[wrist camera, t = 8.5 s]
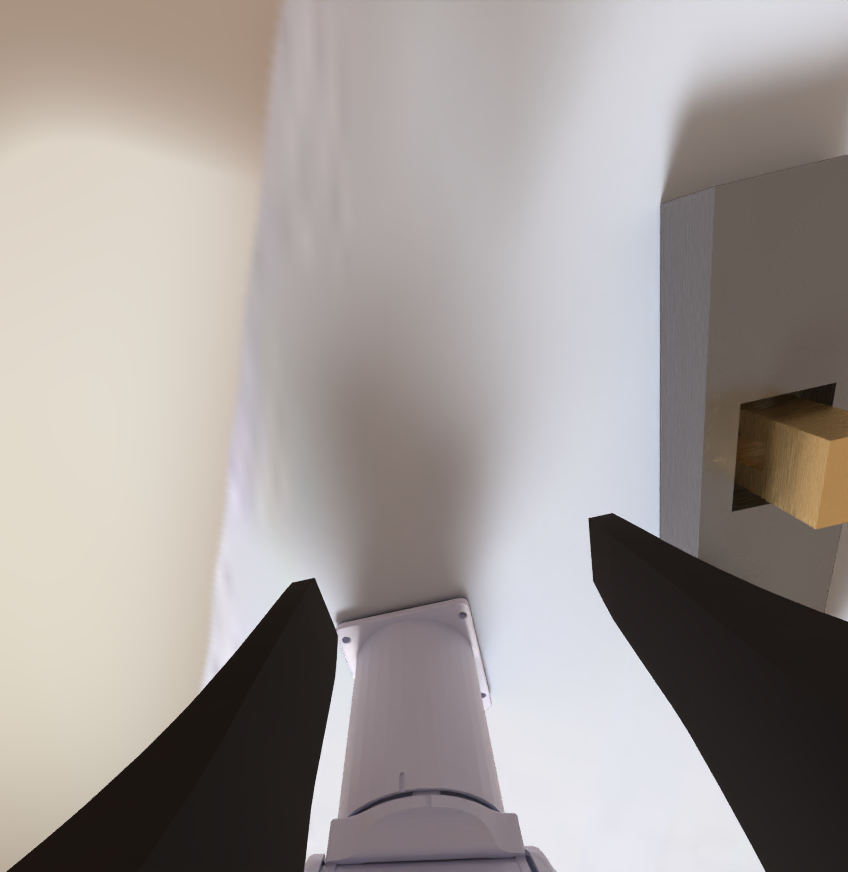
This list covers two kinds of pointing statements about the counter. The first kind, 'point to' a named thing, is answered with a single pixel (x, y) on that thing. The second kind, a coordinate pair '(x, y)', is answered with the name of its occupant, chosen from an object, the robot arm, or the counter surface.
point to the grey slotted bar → (750, 361)
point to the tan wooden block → (795, 457)
